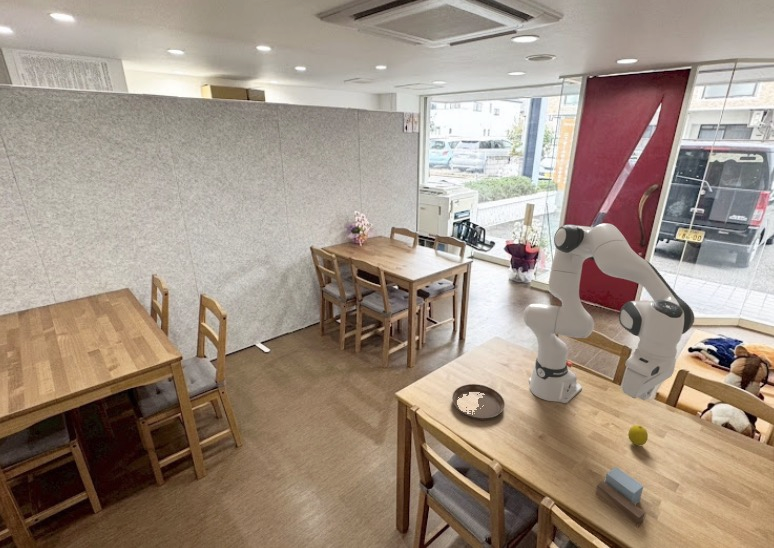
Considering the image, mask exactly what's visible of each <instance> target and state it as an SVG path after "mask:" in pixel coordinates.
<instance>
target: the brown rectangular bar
mask: <svg viewBox="0 0 774 548" xmlns="http://www.w3.org/2000/svg"><path fill="white" fill-rule="evenodd" d="M595 495H596V496H597V497H599V498H600V499H601V500H603V502H605V503H606V504H608V506H609V507H611V508H612V509H613V510H615V511H616V512H617V513H619V514H620V515H621V516H623V518H625V519H626V520H628V522H630V523H631V524H632V525H633V526H635V527H636V528H638V527H639V526H640V525H641V524H642V523H644V518H645V515H646V512H645V511H644V510H642V509H641V508H640V507H639V506H637V504H633V503H632V502H631V501H629V500H628V499H627V498H625V497H624V496H623V495H621V494H620V493H619V492H617V491H616V490H615V489H613V488H612V487H611V486H609V485H608V484H607V483H605V480H603V481H602V482H600V483H598V484H597V487H596V491H595Z"/></svg>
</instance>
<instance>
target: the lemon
mask: <svg viewBox="0 0 774 548" xmlns="http://www.w3.org/2000/svg"><path fill="white" fill-rule="evenodd" d="M648 434H649V433H648V431H647V430H646V428H645V427H644V426H642V425H639V424H634V425H632V426H631V427H630V428H629V430H628V435H627V436H628V439H629V441H630V442H631V443H632V445H633V444H634V445H635V446H643V445H645V444H646V443H647V442H648V436H649V435H648Z"/></svg>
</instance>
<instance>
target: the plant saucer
mask: <svg viewBox="0 0 774 548" xmlns="http://www.w3.org/2000/svg"><path fill="white" fill-rule="evenodd" d="M469 392H480V393H484V394H485V395H482V396H483V398H479V399H478V404H479V407H477V408H476V409H477V410H474V411H475V412H473V415H472V410H469V411H471V412H469V413H471V414H467V412H463V411H461V410H460V409H459V407H458V405H457V400H458V399H459V398H462V397H463V394H467V395H466V396H468V395H469ZM480 393H479V394H480ZM477 395H478V394H477ZM458 397H459V398H458ZM452 402H453V404H454V406H455V408H456V409H457V410H458V411H460V413H461V414H462V415H465V416H467V417H468V418H471V419H474V420H479V419H480V420H481V421H483V420H484V421H485V420H489V419H490V420H491V419H494V418H496V417H497V416H499V415H500V414H502V412H503V411H504V410H505V406H506V405H505V399H504V398H503V396H502V395H501V393H499V392H498V390H495V389H494V388H492V387H489V386H487V385H482V384H478V383H477V384H476V383H469V384H463V385H461V386H459V387H458V388H456V389H454V391H453V394H452ZM483 405H484V406H483ZM482 406H483V407H482ZM466 408H467V407H466ZM480 408H481V409H480ZM466 411H467V410H466ZM474 413H475V414H474Z"/></svg>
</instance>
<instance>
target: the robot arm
mask: <svg viewBox="0 0 774 548" xmlns="http://www.w3.org/2000/svg"><path fill="white" fill-rule="evenodd" d="M553 244H554V246H555V249H556V250H555V254H554V257H553V260H552V263H551V267H550V273H549V279H548V283H547V289H548V291H549V293H550V294H551V295H553V296H554V297H555V298H557V300H560V302H561V306H557V305H551V304H546V303H530V304H529V305H528V306H526V307H525V309H524V311H523V322H524V324H525V325H526V327H528V328H529V329H530V330H531V331H532V333H533V334H534V335H535V337H536V341H537V344H538V345H537V347H538V350H537V357H536V360H535V363H534V364H535V365H534V366H533V369H532V373H531V376H530V377H529V378H528V382H529V391H530V392H531V393H532V394H533V395H534V396H535V397H537V398H540V399H542V400H544V401H549V402H559V403H562V404H568V403H569V402H570V401H571V400H572V399H573V398H574V397H575V396H576V395H577V394H578V393H580V391H582V389H583V388H582V385H581V384H580V383H579V382H578V381H577V376H576V374H575V373H574V372H572V371H571V370H570V369H568V368H572V367H573V363H572V362H570V361H568V354H569V348H568V346H567V344H566V343H565V342H564V340H562V339H561V338H559V337H558V336H557V335H559V336H564V337H569V338H575V339H586V338H588V337H589V336H590V335H591V334H592V333H593V331H594V328H595V322H594V319H593V317H592V315H591V314H590V313H589V312H588V311H587V310H586V309H585V307H584V306H583V304H582V301H581V298H580V283H581V277H582V271H583V265H584V262H585V260H587V259H588V258H589V260H590V261H594V262H595V264H596V266H597V267H598V269H599V270H600V271H601V272H602V273H603V274H605V275H607V276H608V277H609V276H610V277H613V278H618V279H622V280H623V279H624V280H627V281H630V282H633V283H637V284H638V285H640V286H642V288H644V289H645V290H646V292H647V293H648V294H649V296H650V297H651V298H652V299H653V300H631V301H627V302H625V303H624V304H623V305H622V306H621V308H620V311H619V315H618V316H619V317H618V320H619V323H620V325H621V326H622V328H624V329H625V330H626V331H627V332H628V333H630V334H631V335H633V336H637V337H638V338H639V341H638V344H637V348H636V349H635V350H634V352H633V353H632V354H631V355H630V356H629V357H628V358H627V360H626V361H625V365H624V366H625V367H626V370H625V372H624V376H623V380H622V386H621V390H622V392H623V394H625V395H627V396H629V397H631V399H637V398H639V399H640V400H642V401H646V400H647V399H649V398H650V397H651V396H652V393H653V391H654V390H655V388H656V387H657V386H658V385H660V384H661V383H663V382H665V381H666V380H669V378H671V377H672V376H673V375H674V373H675V372H674V371H675V367H676V362H677V359H676V356H677V353H678V350H677V348H678V347H677V346H678V344H679V343H680V341H681V340H682V336H683V335H684V334H686V333H687V332H688V331H689V330H690V329H691V328H692V326H693V325H694V323H695V314H694V311H693V309H692V308H691V307H690V306H689V304H687V302H686V301H684V300H683V299H682V298H680V296H679V295H677V293H676V292H675V291H674V289H673V288H672V287H671V286H670V284H668V282H667V281H666V279H665V278H664V277H663V276H662V275H661V273H660V271H658V270H657V269H656V267H655V266H654V265H653V263H652V264H651V262H650V261H647V260H646V259H644V258H643V257H641V256H640V255H638V253H636V252H635V251H634V250H633V248H631V246H630V244H629V242H628V240H627V239H626V238H625V236H624V234H622V232H621V231H620V229H618V228H617V226H615V225H613V224H612V223H599V224H597V225H595V226H594V227H593V226H585V225H575V224H563V225H561V226H560V227H559V228H558V229H557V230H556V231H555V234H554V237H553Z"/></svg>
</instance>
